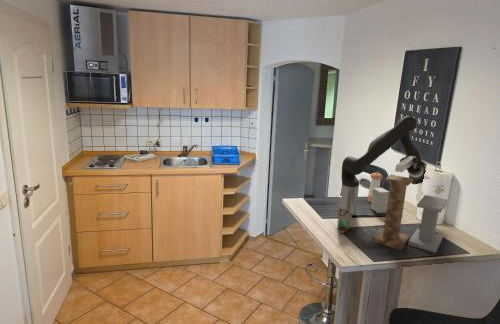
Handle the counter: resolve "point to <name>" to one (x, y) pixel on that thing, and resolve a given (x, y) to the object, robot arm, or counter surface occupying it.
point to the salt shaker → (374, 184)
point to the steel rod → (404, 164)
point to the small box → (379, 200)
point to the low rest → (428, 224)
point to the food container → (343, 220)
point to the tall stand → (394, 214)
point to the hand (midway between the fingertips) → (410, 158)
